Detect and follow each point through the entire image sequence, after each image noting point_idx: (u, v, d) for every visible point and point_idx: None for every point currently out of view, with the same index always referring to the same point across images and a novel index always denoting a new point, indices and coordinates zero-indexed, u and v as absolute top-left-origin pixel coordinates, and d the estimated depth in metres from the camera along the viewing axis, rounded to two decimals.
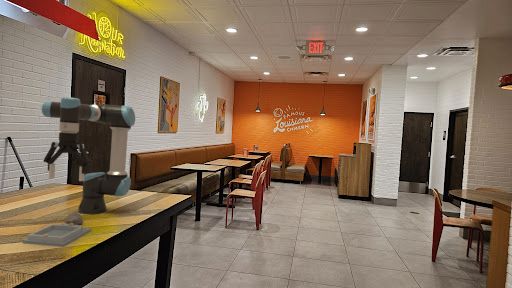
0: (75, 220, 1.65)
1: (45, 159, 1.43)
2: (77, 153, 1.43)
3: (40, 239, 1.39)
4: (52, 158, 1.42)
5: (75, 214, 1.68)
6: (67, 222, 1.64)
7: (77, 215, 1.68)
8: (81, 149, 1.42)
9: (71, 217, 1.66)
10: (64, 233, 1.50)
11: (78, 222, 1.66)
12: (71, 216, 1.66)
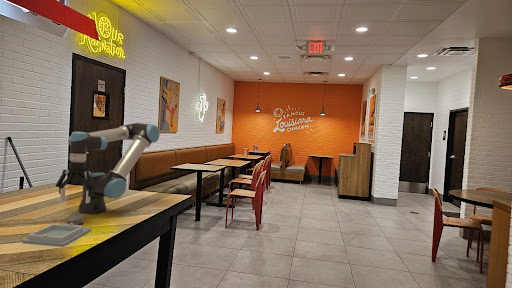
0: (76, 220, 1.65)
1: (57, 184, 1.67)
2: (84, 179, 1.68)
3: (40, 239, 1.39)
4: (63, 183, 1.67)
5: (76, 214, 1.69)
6: (68, 222, 1.64)
7: (78, 215, 1.68)
8: (88, 176, 1.66)
9: (72, 217, 1.66)
10: (64, 233, 1.50)
11: (79, 222, 1.67)
12: (72, 216, 1.67)
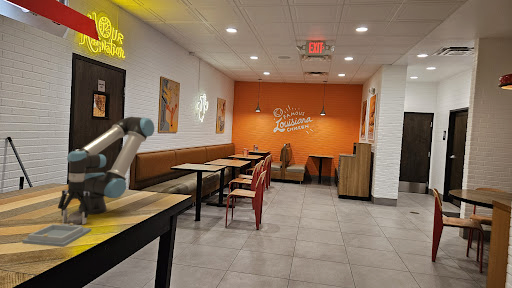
0: (76, 220, 1.66)
1: (59, 206, 1.67)
2: (82, 199, 1.68)
3: (40, 239, 1.39)
4: (64, 205, 1.67)
5: (76, 214, 1.69)
6: (68, 222, 1.64)
7: (78, 215, 1.69)
8: (86, 196, 1.67)
9: (72, 217, 1.66)
10: (64, 233, 1.50)
11: (79, 222, 1.67)
12: (72, 216, 1.67)
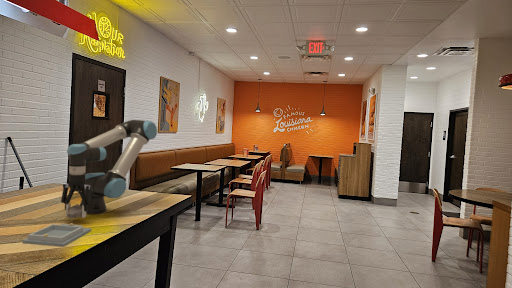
0: (76, 213, 1.66)
1: (62, 200, 1.68)
2: (83, 193, 1.68)
3: (40, 239, 1.39)
4: (67, 198, 1.68)
5: (76, 207, 1.70)
6: (68, 215, 1.65)
7: (78, 208, 1.69)
8: (87, 190, 1.67)
9: (72, 210, 1.67)
10: (64, 233, 1.50)
11: (79, 215, 1.68)
12: (72, 209, 1.68)
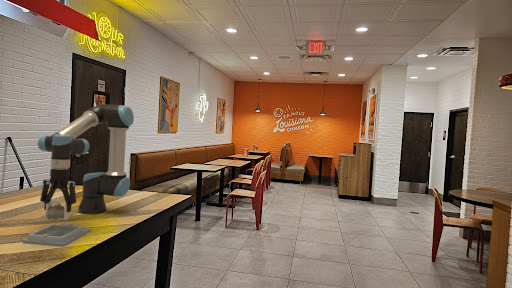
0: (57, 213, 1.43)
1: (41, 198, 1.45)
2: (66, 190, 1.46)
3: (40, 239, 1.39)
4: (47, 197, 1.45)
5: (57, 207, 1.46)
6: (48, 216, 1.42)
7: (60, 208, 1.46)
8: (71, 187, 1.44)
9: (53, 210, 1.44)
10: (64, 233, 1.50)
11: (61, 216, 1.44)
12: (53, 209, 1.45)
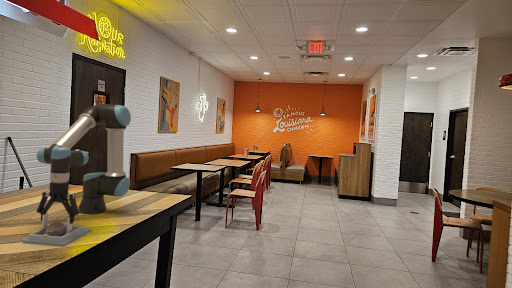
0: (56, 231, 1.44)
1: (38, 210, 1.45)
2: (67, 203, 1.46)
3: (40, 239, 1.39)
4: (44, 208, 1.45)
5: (57, 224, 1.47)
6: (47, 233, 1.43)
7: (59, 225, 1.47)
8: (71, 199, 1.45)
9: (52, 227, 1.45)
10: None
11: (60, 233, 1.45)
12: (52, 226, 1.45)
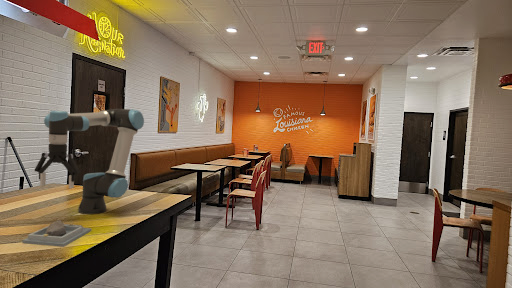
0: (57, 231, 1.44)
1: (36, 169, 1.53)
2: (66, 162, 1.54)
3: (40, 239, 1.39)
4: (43, 168, 1.53)
5: (57, 224, 1.47)
6: (47, 233, 1.43)
7: (59, 225, 1.47)
8: (70, 159, 1.53)
9: (52, 227, 1.45)
10: None
11: (60, 233, 1.45)
12: (52, 226, 1.45)
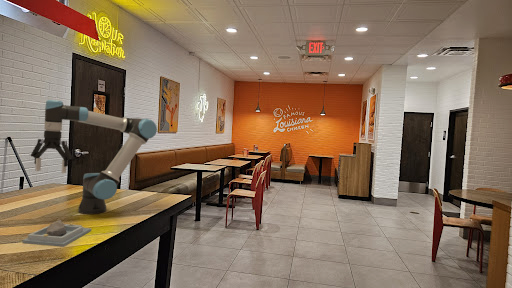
0: (57, 231, 1.44)
1: (32, 154, 1.64)
2: (60, 149, 1.64)
3: (40, 239, 1.39)
4: (38, 153, 1.64)
5: (58, 224, 1.47)
6: (48, 233, 1.43)
7: (60, 225, 1.47)
8: (63, 145, 1.63)
9: (53, 227, 1.45)
10: None
11: (60, 233, 1.45)
12: (53, 226, 1.45)
